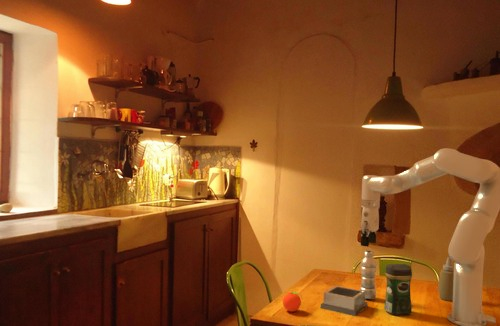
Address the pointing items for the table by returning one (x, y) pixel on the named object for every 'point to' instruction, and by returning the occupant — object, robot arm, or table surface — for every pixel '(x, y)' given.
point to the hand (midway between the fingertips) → (368, 244)
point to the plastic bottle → (368, 275)
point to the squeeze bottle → (446, 281)
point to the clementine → (291, 302)
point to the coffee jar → (398, 289)
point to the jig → (344, 300)
